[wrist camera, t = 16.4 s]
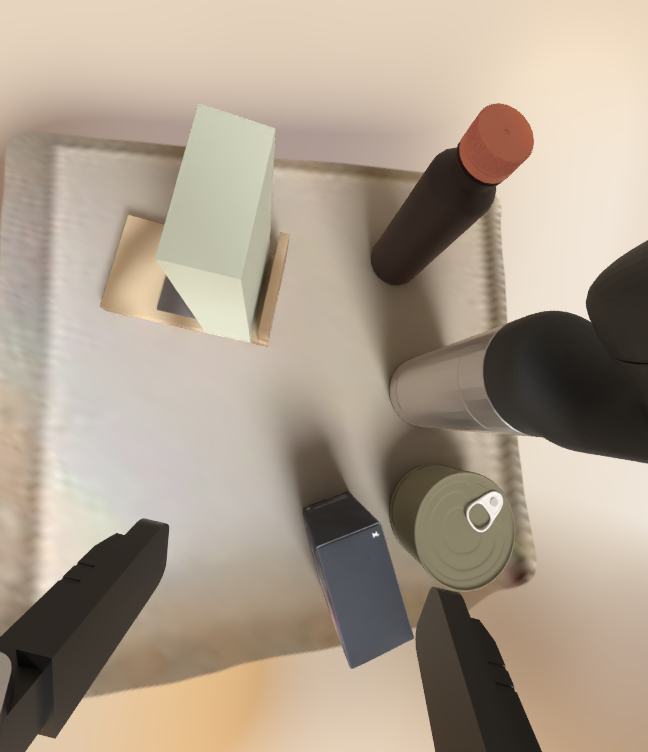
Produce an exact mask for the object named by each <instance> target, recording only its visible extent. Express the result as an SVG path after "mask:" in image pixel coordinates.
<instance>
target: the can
mask: <svg viewBox="0 0 648 752" xmlns="http://www.w3.org/2000/svg"><path fill="white" fill-rule="evenodd" d="M390 522H391V527H392V530H393V532H394V535H395V537H396V539H397V540H398V542H399V543H400V544H401V546H402V547H403V548H404V549H405V550H406V551H407V552H409V553H410V554H411V555H412V556H413V557H414V558H415V559H416V560H417V561H418V562H419V563H420V564H421V565H422V566H423V568H424V569H425V570H426V572H427V573H428V574H429V575H430V576H431V577H432V578H433V579H434V580H435V581H436V582H438V583H439V584H441V585H442V586H444V587H446V588H449V589H451V590H455V591H462V592H468V591H474V590H478V589H481V588H483V587H485V586H487V585H488V584H490V583H491V582H493V581H494V580H495V579H496V578H497V577H498V576H499V575H500V574H501V573H502V571H503V570H504V569H505V567H506V565H507V563H508V562H509V559H510V557H511V554H512V551H513V548H514V542H515V520H514V515H513V511H512V508H511V506H510V503H509V501H508V499H507V497H506V496H505V494H504V493H503V491H502V490H501V489H500V488H499V487H498V486H497V485H496V484H495V483H494V482H493V481H491V480H490V479H489V478H487V477H485V476H483V475H480V474H477V473H474V472H469V471H460V470H457V469H453V468H449V467H446V466H442V465H438V464H426V465H421V466H418V467H416V468H414V469H412V470H411V471H409V472H408V473H407V474H405V475H404V476H403V477H402V479H401V480H400V481H399V483H398V484H397V486H396V488H395V490H394V492H393V495H392V498H391V502H390Z"/></svg>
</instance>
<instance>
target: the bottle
mask: <svg viewBox="0 0 648 752" xmlns="http://www.w3.org/2000/svg"><path fill="white" fill-rule="evenodd" d="M533 144H534V138H533V132H532V130H531V127H530V125H529V123H528V122H527V120H526V119H525V117H524V116H523V115H522V114H521V113H520V112H518V111H517V110H516V109H514V108H512V107H510V106H508V105H504V104H499V103H498V104H491V105H489V106H487V107H485V108H484V109H483V110H482V111H481V112H480V113H479V115H478V116H477V117H476V119H475V120H474V121H473V123H472V124H471V126H470V127H469V129H468V130H467V132H466V133H465V134H464V136H463V137H462V139H461V141H460V142H459V144H458V146H457V148H451V149H446V150H445V151H443V152H442V153H440V154H438V155H437V156H436V157H435V158H434V160H433V161H432V162H431V164H430V165H429V167H428V168H427V170H426V171H425V172H424V174H423V175H422V177H421V178H420V180H419V181H418V183H417V184H416V186H415V187H414V189H413V190H412V192H411V193H410V195H409V196H408V198H407V199H406V201H405V202H404V204H403V205H402V207H401V208H400V210H399V211H398V213H397V214H396V215H395V217H394V218H393V220H392V221H391V223H390V224H389V226H388V227H387V229H386V230H385V232H384V233H383V235H382V236H381V238H380V239H379V241H378V242H377V244H376V245H375V247H374V248H373V252H372V255H371V260H372V266H373V268H374V271H375V272H376V274H377V275H378V276H379V277H380V278H381V279H382V280H384V281H385V282H387V283H390V284H394V285H400V284H404V283H407V282H408V281H410V280H411V279H413V278H414V277H415V276H416V275H417V274H418V273H419V272H420V271H421V270H423V269H424V268H425V267H426V266H427V265H428V264H429V263H430V262H431V261H433V260H434V259H435V258H436V257H437V256H438V255H439V254H440V253H442V252H443V251H444V250H445V249H446V248H447V247H448V246H449V245H450V244H452V243H453V242H454V241H455V240H456V239H457V238H458V237H459V236H460V235H462V234H463V233H464V232H465V231H466V230H467V229H468V228H469V227H470V226H472V225H473V224H474V223H475V222H476V221H477V220H478V219H479V218H480V217H482V216H483V215H484V214H485V213H486V212H487V211H488V210H489V208H490V206H491V205H492V203H493V201H494V198H495V193H496V186H497V185H498V184H500V183H501V182H502V181H503V180H505V179H506V178H508V177H509V176H510V175H511V174H512V173H513V172H514V171H515V170H516V169H517V168H518V167H519V166H520V165H521V164H522V163H523V162H524V161H525V160H526V159H527V158H528V157H529V155H531V151H532V149H533Z"/></svg>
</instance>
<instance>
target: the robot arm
mask: <svg viewBox="0 0 648 752" xmlns="http://www.w3.org/2000/svg"><path fill="white" fill-rule="evenodd" d="M586 308H587V311H588V315H589V318H590V320H591V322H590V321H588V320H586V319H584V318H582V317H580V316H577V315H575V314H572V313H568V312H562V311H544V312H539V313H535V314H531V315H529V316H526V317H523V318H521V319H518V320H515V321H513V322H510V323H507V324H504V325H502V326H499V327H496V328H494V329H491V330H488V331H486V332H483V333H481V334H478V335H475V336H472V337H470V338H467V339H464V340H461V341H459V342H456V343H453V344H451V345H448V346H445V347H442V348H440V349H437V350H434V351H431V352H429V353H426V354H423V355H420V356H418V357H415V358H412V359H409V360H407V361H406V362H404V363H402V364H401V365H400V366H399V367H398V368H397V370H396V371H395V372H394V374H393V377H392V379H391V383H390V398H391V402H392V405H393V407H394V409H395V411H396V412H397V414H398V415H399V416H400V417H401V418H402V419H403V420H404V421H406V422H407V423H409V424H411V425H414V426H416V427H425V428H436V429H447V430H459V431H471V432H483V433H495V434H509V435H522V436H535V437H543V438H545V439H547V440H549V441H550V442H552V443H554V444H556V445H558V446H561V447H564V448H566V449H569V450H573V451H578V452H583V453H588V454H595V455H601V456H607V457H613V458H619V459H625V460H631V461H637V462H642V463H648V240H647V241H646V242H644V243H642V244H640V245H639V246H637V247H635V248H634V249H632V250H630V251H629V252H627V253H626V254H624V255H623V256H621V257H620V258H618V259H617V260H616V261H615V262H613V263H612V264H611V265H610V266H609V267H607V268H606V269H605V270H604V271H603V272H602V273H601V274H600V275H599V276H598V277H597V279H596V280H595V281H594V283H593V284H592V285H591V287H590V289H589V291H588V295H587V299H586ZM168 536H169V525H168V524H166V523H161V522H157V521H153V520H149V519H144V518H143V519H141V520H139V521H138V522H137V523H136V524H135V525H134V526H133V527H132V528H131V529H130V530H129V531H128V532H127V533H126V534H125V535H122V534H118V533H116V534H114V535H112V536H111V537H109V538H107V539H105V540H104V541H102V542H100V543H99V544H97V545H95V546H94V547H93V548H92V549H91V550H90V551H89V552H88V553H87V554H86V555H85V556H84V557H83V558H82V559H81V560H80V561H79V562H78V564H77V565H76V566H75V565H74V566H73V567H72V568H71V569H70V570H69V571H68V572H67V573H66V574H65V575H64V576H63V578H62V580H59V581H58V582H57V583H56V584H55V585H54V586H53V587H52V588H51V589H50V590H49V591H47V592H46V593H45V594H44V595H43V596H42V597H41V598H40V599H39V600H38V601H37V602H36V603H35V604H34V605H33V606H32V607H31V608H30V609H29V610H28V611H27V612H26V613H25V614H24V615H23V616H22V617H21V618H20V619H18V620H17V621H16V622H15V623H14V624H13V625H12V626H11V627H10V628H9V629H8V630H7V631H6V632H5V633H4V634H3V635H2V636H1V637H0V752H25V751H26V750H27V748H28V747H29V746H30V744H31V743H32V741H33V740H34V738H35V737H36V736H37V734H39V735H43V736H48V737H51V738H56V737H57V735H58V734H59V732H60V731H61V729H62V728H63V726H64V725H65V723H66V722H67V720H68V719H69V717H70V716H71V714H72V713H73V711H74V710H75V708H76V707H77V706H78V704H79V702H80V701H81V700H82V698H83V697H84V695H85V694H86V692H87V691H88V689H89V688H90V686H91V685H92V683H93V682H94V680H95V679H96V677H97V676H98V674H99V673H100V671H101V670H102V668H103V667H104V665H105V664H106V662H107V661H108V659H109V658H110V656H111V655H112V653H113V652H114V650H115V649H116V647H117V646H118V644H119V643H120V641H121V640H122V638H123V637H124V635H125V634H126V633H127V631H128V630H129V628H130V627H131V625H132V624H133V622H134V621H135V619H136V618H137V616H138V615H139V613H140V612H141V610H142V609H143V607H144V606H145V604H146V603H147V601H148V600H149V598H150V597H151V595H152V594H153V592H154V591H155V589H156V588H157V586H158V584H159V582H160V580H161V578H162V576H163V573H164V570H165V567H166V560H167V548H168ZM416 650H417V657H418V662H419V667H420V672H421V678H422V683H423V689H424V694H425V699H426V704H427V710H428V715H429V720H430V726H431V731H432V736H433V741H434V747H435V752H542V751H541V749H540V746H539V744H538V742H537V739H536V737H535V734H534V732H533V730H532V727H531V725H530V723H529V720H528V718H527V715H526V713H525V711H524V708H523V706H522V704H521V701H520V699H519V697H518V694H517V692H515V691H514V685H513V682H512V680H511V678H510V675H509V673H508V671H506V669H505V664H504V661H503V659H502V657H501V654H500V652H499V650H498V647H497V645H496V642H495V641H494V639H493V638H492V637H491V635H490V634H489V632H488V631H487V630H486V628H485V627H484V626H483V624H482V623H481V622H480V620H478V619H474V618H470V615H469V612H468V610H467V607H466V604H465V602H464V599H463V597H462V596H461V594H460V593H458V592H453V591H449V590H445V589H440V588H436V587H432V588H431V589H430V591H429V594H428V596H427V599H426V602H425V604H424V607H423V610H422V613H421V615H420V618H419V621H418V624H417V628H416Z"/></svg>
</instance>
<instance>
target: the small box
mask: <svg viewBox="0 0 648 752" xmlns="http://www.w3.org/2000/svg"><path fill="white" fill-rule="evenodd" d="M303 516H304V521H305V525H306V530H307V534H308V538H309V542H310V546H311V550H312V553H313V557H314V561H315V565H316V569H317V572H318V576H319V579H320V583H321V586H322V589H323V592H324V596H325V599H326V602H327V605H328V608H329V611H330V614H331V617H332V620H333V623H334V626H335V629H336V632H337V635H338V637H339V640H340V643H341V646H342V648H343V651H344V653H345V656H346V658H347V661H348V663H349V666H350V668H351V669H353V668H355V667H358V666H360V665H362V664H364V663H366V662H368V661H370V660H372V659H374V658H376V657H378V656H380V655H382V654H384V653H386V652H388V651H390V650H392V649H394V648H396V647H398V646H400V645H402V644H404V643H406V642H408V641H410V640H412V639H414V635H413V632H412V628H411V625H410V622H409V618H408V615H407V611H406V608H405V605H404V601H403V598H402V594H401V591H400V587H399V584H398V580H397V577H396V574H395V570H394V567H393V564H392V560H391V557H390V553H389V550H388V546H387V543H386V540H385V536H384V533H383V530H382V526H381V523H380V522H379V521H378V520H377V519H376V518H375V517H373V515H371V513H369V511H367V509H365V508H364V507H363V506H362V505H361V504H360V503H359V502H358V501H357V500H356V499H355V498H354V497H353V495H352V494H351V493H350V492H345V493H343V494H341V495H337V496H336V497H333V498H330V499H328V500H325V501H322V502H319V503H315V504H313V505H311V506H309V507H307V508H304V509H303Z"/></svg>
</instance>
